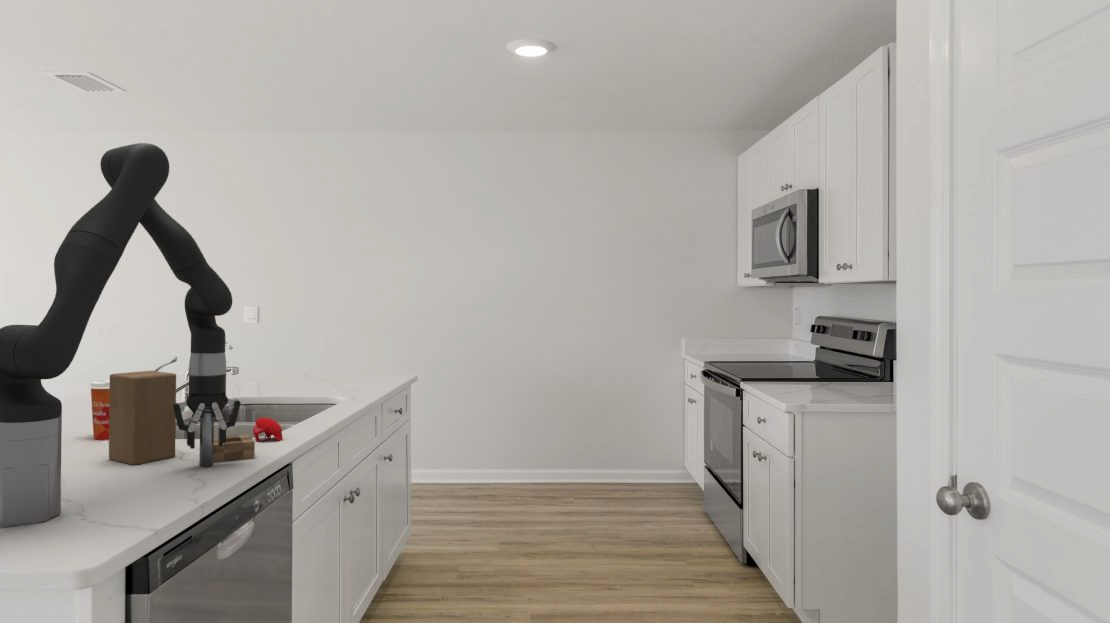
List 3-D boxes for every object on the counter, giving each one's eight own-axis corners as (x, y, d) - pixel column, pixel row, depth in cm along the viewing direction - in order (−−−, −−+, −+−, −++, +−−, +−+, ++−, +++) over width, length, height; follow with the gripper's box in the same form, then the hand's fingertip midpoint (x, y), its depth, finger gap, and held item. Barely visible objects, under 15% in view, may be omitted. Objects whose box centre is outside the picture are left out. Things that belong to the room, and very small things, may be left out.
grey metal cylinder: (214, 466, 152) (215, 405, 151) (199, 467, 150) (200, 405, 150) (212, 463, 154) (213, 403, 154) (198, 465, 153) (199, 404, 152)
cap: (244, 430, 176) (262, 419, 175) (254, 419, 182) (271, 408, 181) (264, 452, 179) (282, 442, 178) (273, 440, 184) (290, 430, 183)
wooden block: (107, 459, 155) (108, 373, 155) (150, 451, 164) (151, 370, 164) (133, 465, 150) (134, 377, 150) (176, 457, 159) (177, 373, 159)
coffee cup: (80, 439, 175) (81, 382, 175) (110, 433, 183) (110, 378, 182) (105, 442, 172) (105, 384, 172) (133, 436, 180) (134, 380, 180)
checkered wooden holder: (254, 458, 160) (254, 441, 160) (212, 462, 155) (212, 445, 155) (248, 450, 168) (248, 434, 167) (207, 454, 163) (208, 438, 162)
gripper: (172, 375, 145) (171, 453, 145) (244, 372, 153) (243, 446, 153) (170, 371, 151) (169, 446, 151) (239, 369, 159) (238, 440, 159)
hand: (206, 446), depth 152 cm, fingers open, 5 cm apart
